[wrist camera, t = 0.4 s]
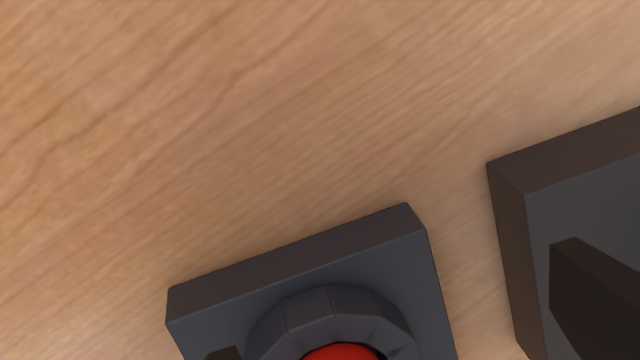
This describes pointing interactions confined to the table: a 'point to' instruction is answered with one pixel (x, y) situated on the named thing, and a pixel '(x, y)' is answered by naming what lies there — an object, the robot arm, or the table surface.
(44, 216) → the table surface
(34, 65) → the table surface
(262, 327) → the switch block
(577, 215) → the panel
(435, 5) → the table surface
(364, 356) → the power button
